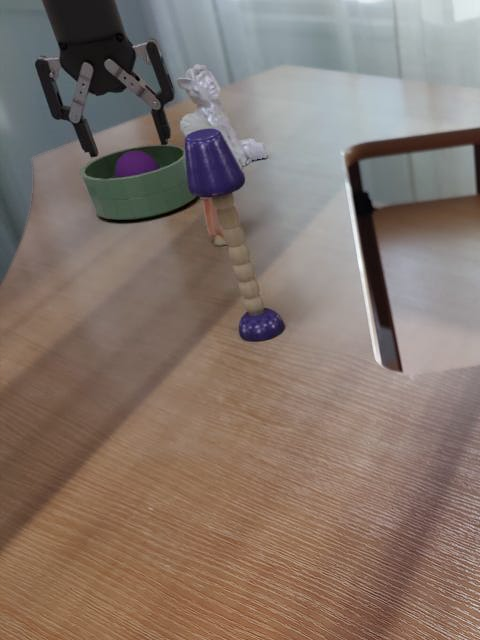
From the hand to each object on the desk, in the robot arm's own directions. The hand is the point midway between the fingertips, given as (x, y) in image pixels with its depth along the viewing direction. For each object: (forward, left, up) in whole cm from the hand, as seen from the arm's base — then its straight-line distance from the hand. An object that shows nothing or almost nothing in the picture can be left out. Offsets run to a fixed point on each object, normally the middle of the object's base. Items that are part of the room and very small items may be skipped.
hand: (130, 149), depth 106 cm
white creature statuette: (+10, +10, -6) cm, 16 cm away
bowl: (0, 0, -6) cm, 6 cm away
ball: (0, 0, -3) cm, 3 cm away
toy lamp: (+13, -44, -6) cm, 46 cm away
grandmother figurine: (+10, -18, -7) cm, 22 cm away
